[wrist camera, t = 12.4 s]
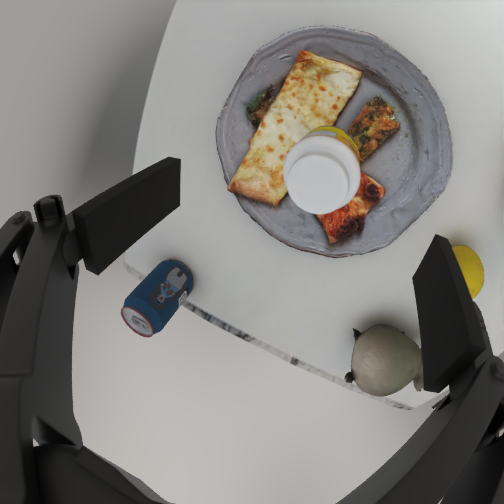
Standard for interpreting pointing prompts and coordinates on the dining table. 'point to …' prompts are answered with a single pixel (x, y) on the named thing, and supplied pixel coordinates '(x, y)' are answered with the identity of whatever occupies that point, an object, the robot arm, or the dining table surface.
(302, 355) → the dining table surface
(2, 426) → the robot arm
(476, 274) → the lemon
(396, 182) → the food plate
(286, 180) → the supplement bottle
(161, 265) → the soda can
